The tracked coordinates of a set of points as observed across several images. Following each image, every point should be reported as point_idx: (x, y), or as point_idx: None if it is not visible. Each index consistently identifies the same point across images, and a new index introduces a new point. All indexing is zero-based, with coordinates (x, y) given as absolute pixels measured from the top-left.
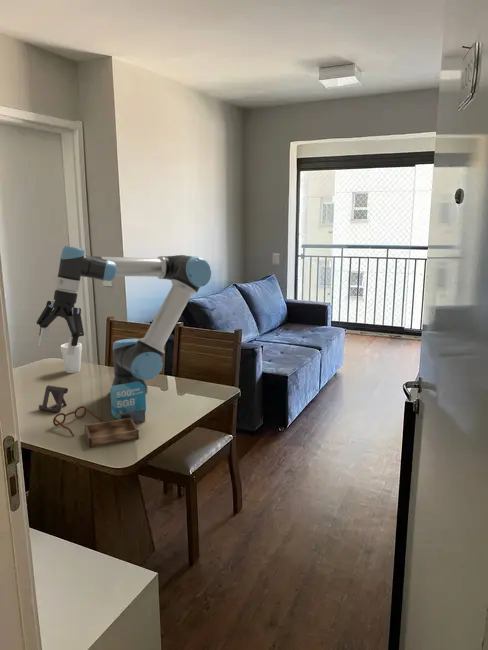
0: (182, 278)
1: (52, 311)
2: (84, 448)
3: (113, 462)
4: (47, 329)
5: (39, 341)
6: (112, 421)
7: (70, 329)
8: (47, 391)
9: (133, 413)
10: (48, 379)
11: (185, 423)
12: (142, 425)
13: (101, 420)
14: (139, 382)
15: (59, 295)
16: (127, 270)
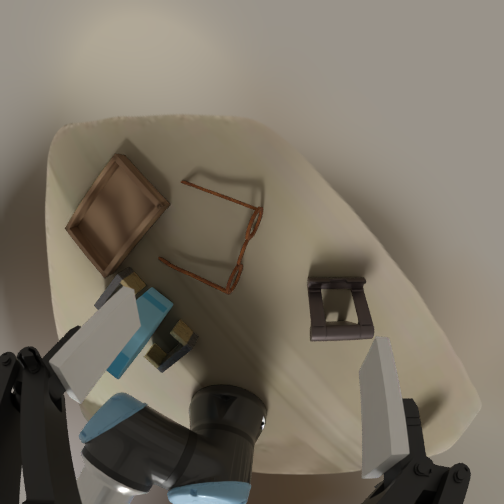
0: None
1: None
2: (130, 148)
3: (69, 136)
4: (367, 464)
5: (390, 358)
6: (122, 247)
7: (39, 410)
8: (364, 319)
9: (105, 290)
10: (426, 403)
11: (57, 305)
12: (99, 279)
13: (165, 261)
14: (110, 372)
15: None
16: None
